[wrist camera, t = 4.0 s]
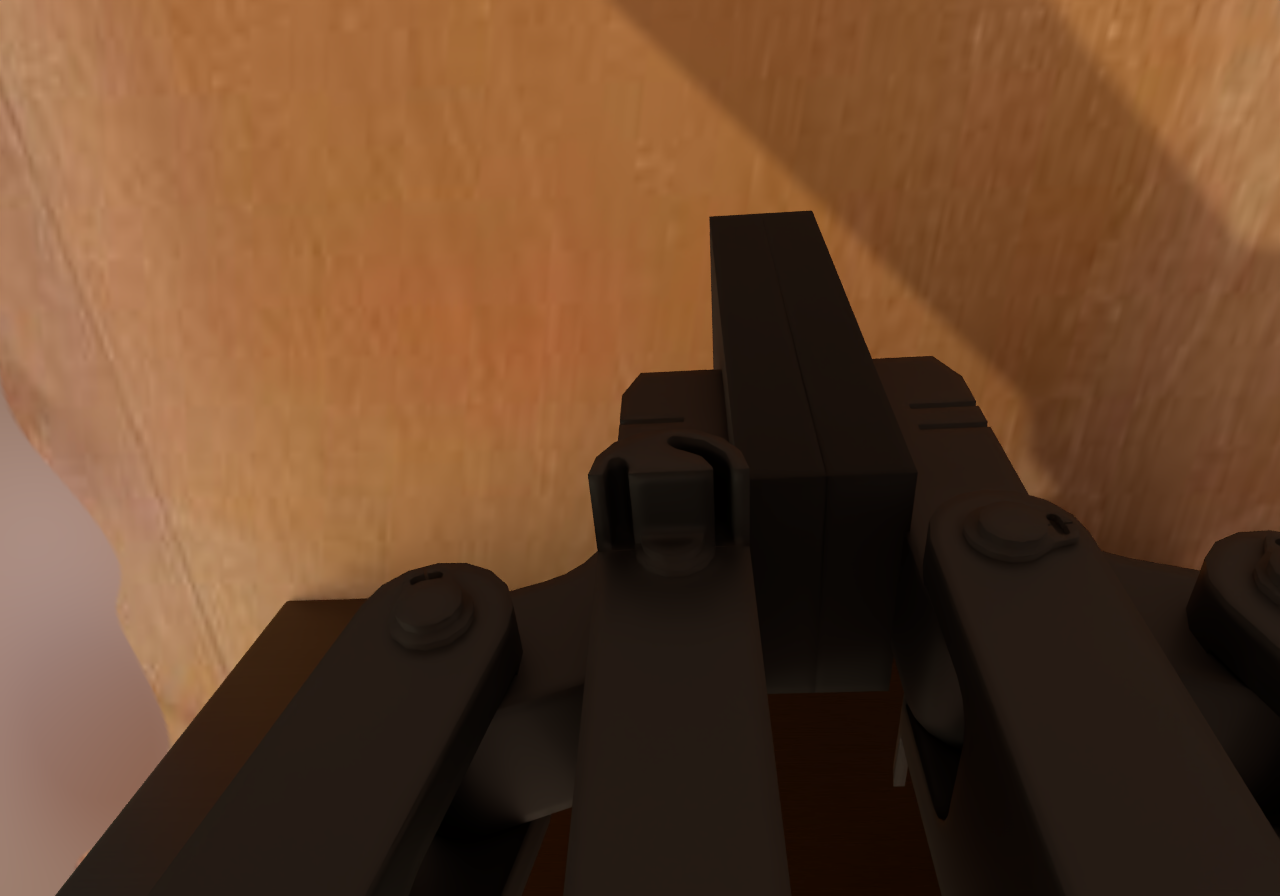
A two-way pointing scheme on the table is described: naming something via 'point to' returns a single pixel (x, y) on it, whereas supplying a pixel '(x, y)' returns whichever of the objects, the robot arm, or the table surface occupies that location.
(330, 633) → the oven door
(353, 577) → the table surface
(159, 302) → the table surface
